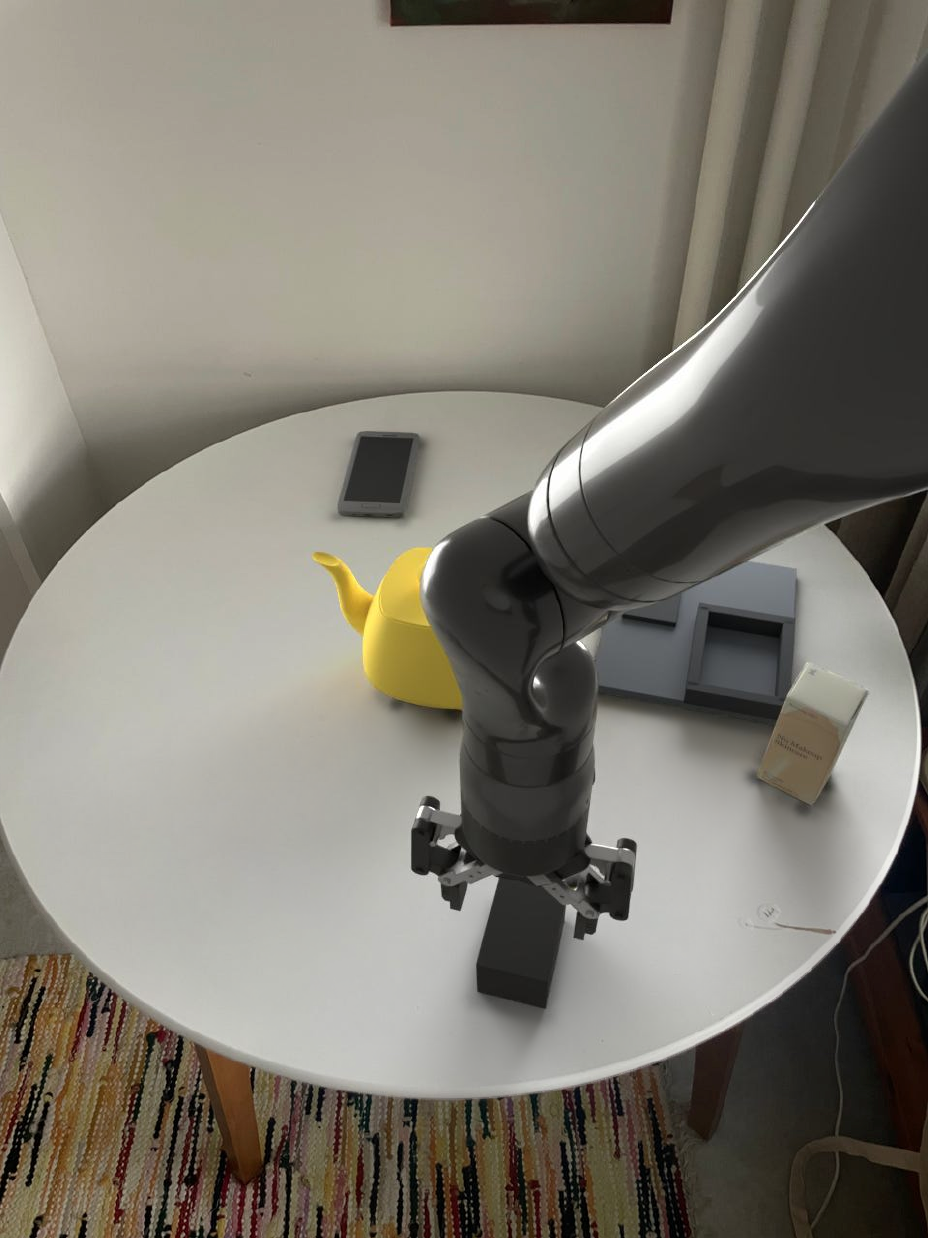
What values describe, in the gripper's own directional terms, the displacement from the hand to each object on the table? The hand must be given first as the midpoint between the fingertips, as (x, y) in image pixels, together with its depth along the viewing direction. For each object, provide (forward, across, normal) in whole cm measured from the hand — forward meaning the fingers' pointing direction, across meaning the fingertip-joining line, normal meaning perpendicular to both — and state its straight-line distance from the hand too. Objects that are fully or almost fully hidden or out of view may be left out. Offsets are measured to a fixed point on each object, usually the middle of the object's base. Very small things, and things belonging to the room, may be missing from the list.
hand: (519, 912), depth 70 cm
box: (+6, +19, +21) cm, 29 cm away
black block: (+6, 0, 0) cm, 7 cm away
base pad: (+6, +9, +35) cm, 37 cm away
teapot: (+7, -14, +25) cm, 29 cm away
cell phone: (+7, -26, +50) cm, 57 cm away
